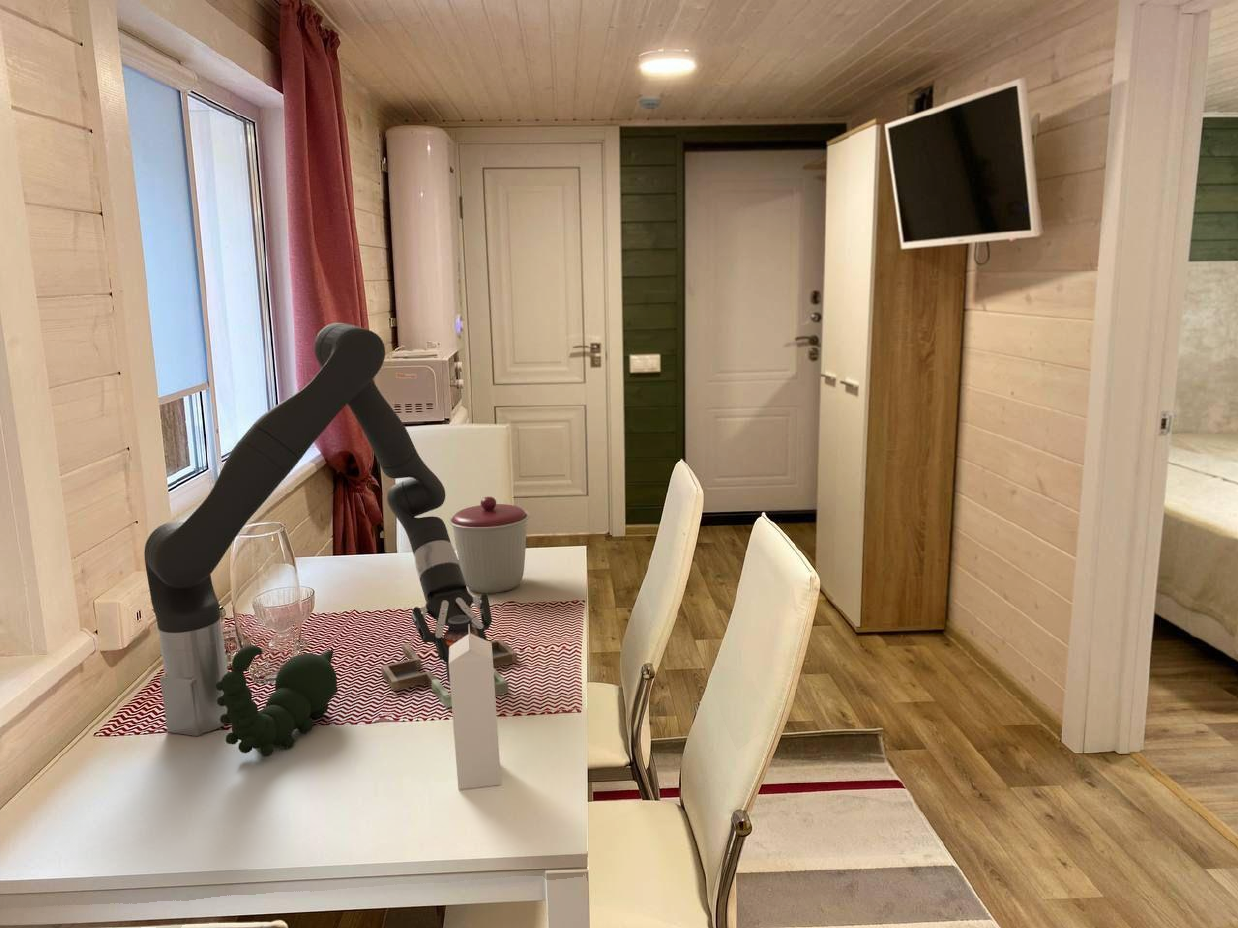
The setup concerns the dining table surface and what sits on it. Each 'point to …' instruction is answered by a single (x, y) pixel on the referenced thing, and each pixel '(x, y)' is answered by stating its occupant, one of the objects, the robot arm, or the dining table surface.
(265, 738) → the toy figurine
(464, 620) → the supplement bottle
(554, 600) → the dining table surface
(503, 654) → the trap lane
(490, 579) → the canister
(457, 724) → the milk
